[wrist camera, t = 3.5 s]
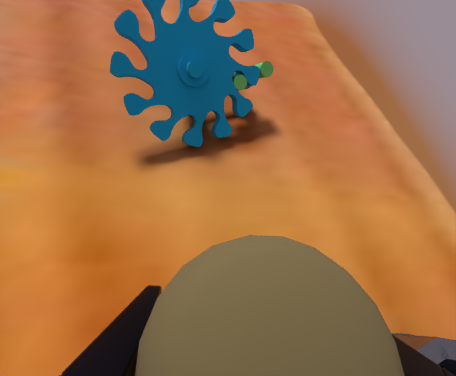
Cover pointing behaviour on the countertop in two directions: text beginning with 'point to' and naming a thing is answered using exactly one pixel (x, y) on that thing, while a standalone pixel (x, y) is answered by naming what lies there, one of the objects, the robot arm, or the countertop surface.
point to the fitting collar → (433, 349)
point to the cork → (265, 317)
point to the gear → (188, 68)
